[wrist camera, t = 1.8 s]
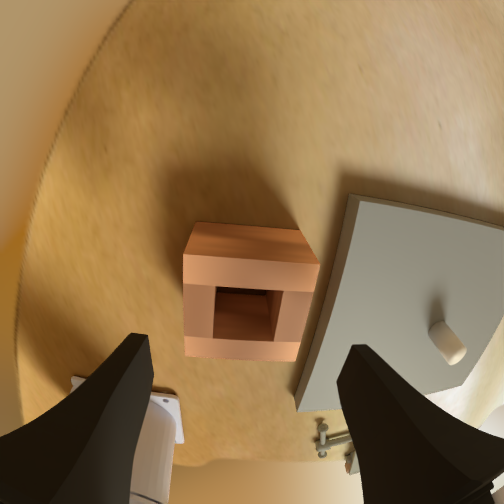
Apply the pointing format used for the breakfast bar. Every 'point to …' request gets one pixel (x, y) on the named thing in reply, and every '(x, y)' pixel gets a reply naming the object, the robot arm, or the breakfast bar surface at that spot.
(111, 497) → the robot arm
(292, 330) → the collar block
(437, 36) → the breakfast bar surface
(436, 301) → the pin board
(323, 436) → the clamp
